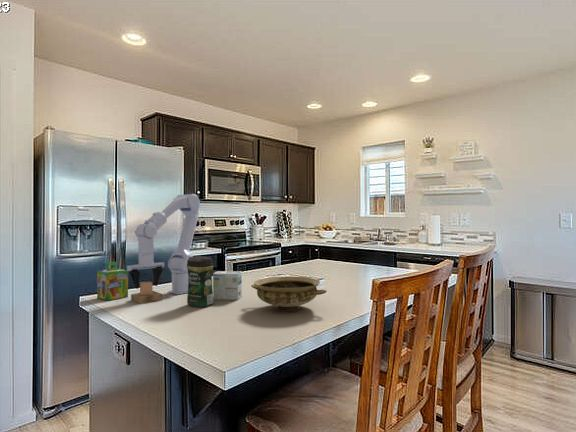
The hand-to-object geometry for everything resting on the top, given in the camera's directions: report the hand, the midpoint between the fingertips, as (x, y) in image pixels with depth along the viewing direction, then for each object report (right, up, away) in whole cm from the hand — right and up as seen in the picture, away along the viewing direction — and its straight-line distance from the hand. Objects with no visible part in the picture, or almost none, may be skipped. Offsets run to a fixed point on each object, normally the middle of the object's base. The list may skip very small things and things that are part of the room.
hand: (146, 286), depth 148 cm
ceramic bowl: (+57, -5, -16) cm, 59 cm away
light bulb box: (+33, -5, +2) cm, 33 cm away
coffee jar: (+24, -5, -9) cm, 26 cm away
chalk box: (-16, -6, +5) cm, 18 cm away
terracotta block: (0, -3, 0) cm, 3 cm away
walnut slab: (0, -6, 0) cm, 6 cm away
